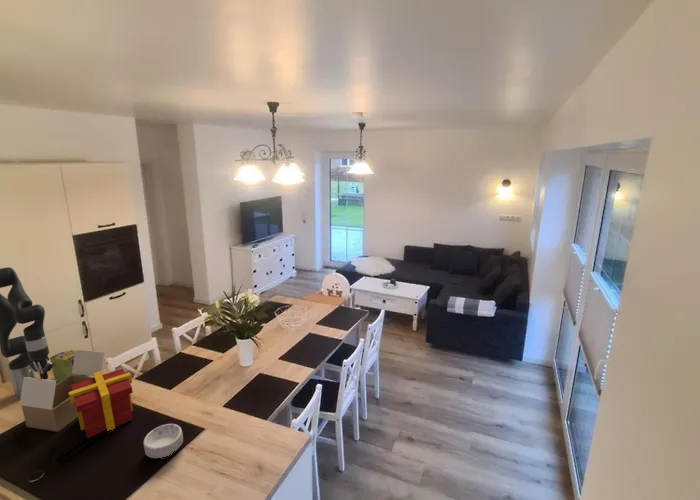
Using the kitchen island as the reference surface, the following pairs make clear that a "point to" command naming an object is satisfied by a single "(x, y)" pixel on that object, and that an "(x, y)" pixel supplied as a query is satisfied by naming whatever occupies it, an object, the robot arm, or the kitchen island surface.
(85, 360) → the far flap
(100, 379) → the gift box
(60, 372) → the protein box
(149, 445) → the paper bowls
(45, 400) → the near flap
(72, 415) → the carton
